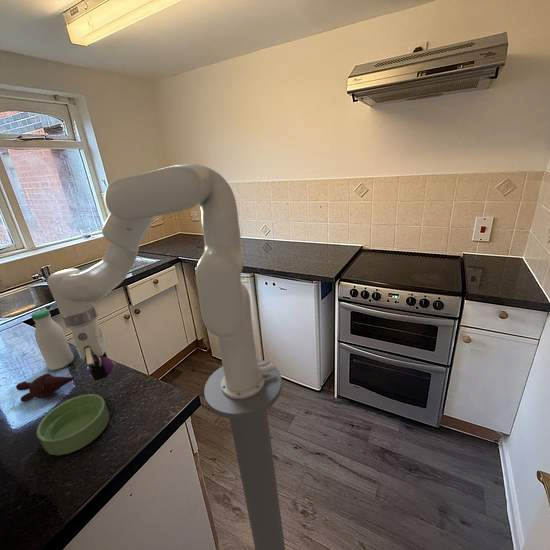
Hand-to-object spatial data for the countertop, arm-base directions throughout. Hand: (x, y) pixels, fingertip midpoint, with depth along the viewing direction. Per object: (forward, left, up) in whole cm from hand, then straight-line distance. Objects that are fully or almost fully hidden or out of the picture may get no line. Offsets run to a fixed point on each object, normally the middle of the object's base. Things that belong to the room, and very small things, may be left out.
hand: (102, 370), depth 85 cm
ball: (0, 0, +1) cm, 1 cm away
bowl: (+6, +12, -7) cm, 15 cm away
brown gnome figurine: (+16, -8, -8) cm, 20 cm away
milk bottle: (+16, -25, -8) cm, 31 cm away
